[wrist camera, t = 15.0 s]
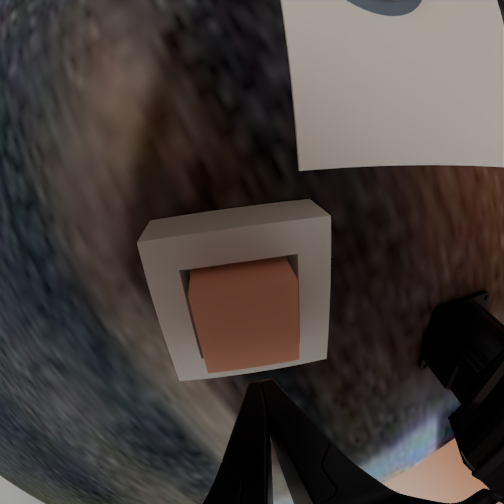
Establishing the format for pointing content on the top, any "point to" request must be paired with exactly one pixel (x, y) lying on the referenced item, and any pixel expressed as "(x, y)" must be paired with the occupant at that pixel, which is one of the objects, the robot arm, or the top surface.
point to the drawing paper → (396, 82)
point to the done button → (246, 313)
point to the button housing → (232, 251)
